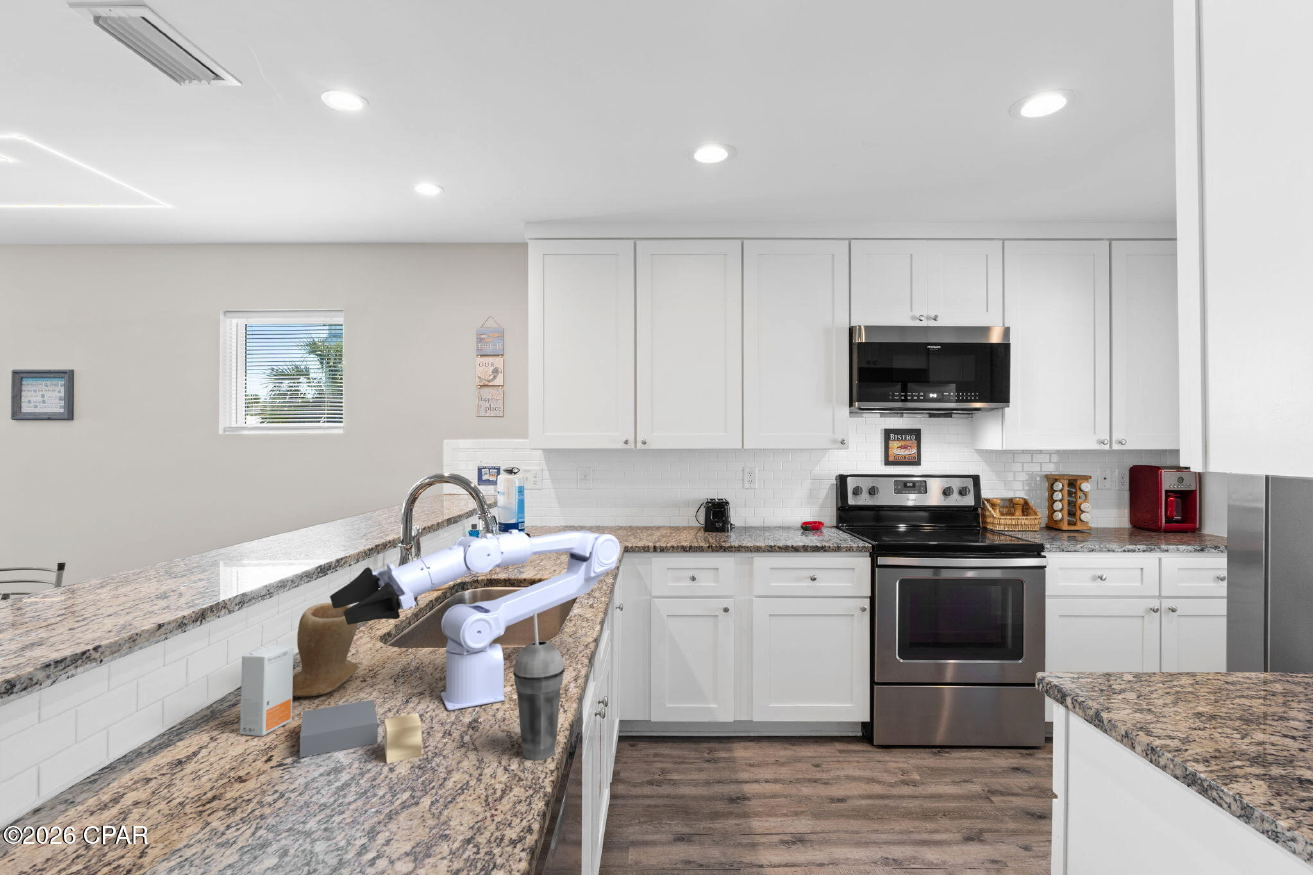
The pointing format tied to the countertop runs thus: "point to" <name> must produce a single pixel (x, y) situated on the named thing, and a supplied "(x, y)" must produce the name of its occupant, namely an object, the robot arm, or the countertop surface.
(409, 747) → the maple cube
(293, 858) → the countertop surface
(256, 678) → the skincare box
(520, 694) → the beverage cup
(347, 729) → the base block
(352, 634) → the stone cup
